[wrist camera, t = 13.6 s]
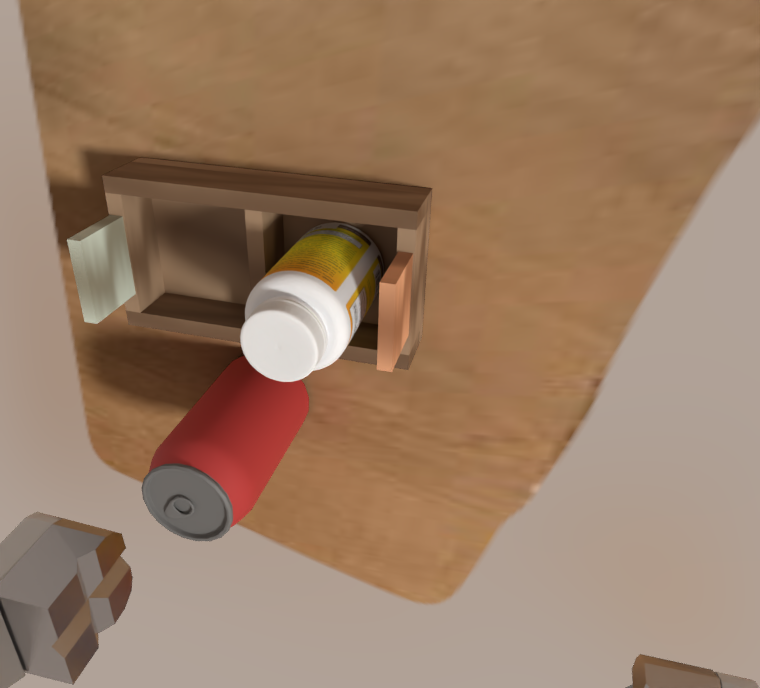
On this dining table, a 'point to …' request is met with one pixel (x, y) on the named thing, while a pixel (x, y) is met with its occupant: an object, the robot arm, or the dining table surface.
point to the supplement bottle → (311, 302)
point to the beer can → (223, 452)
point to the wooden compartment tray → (244, 249)
